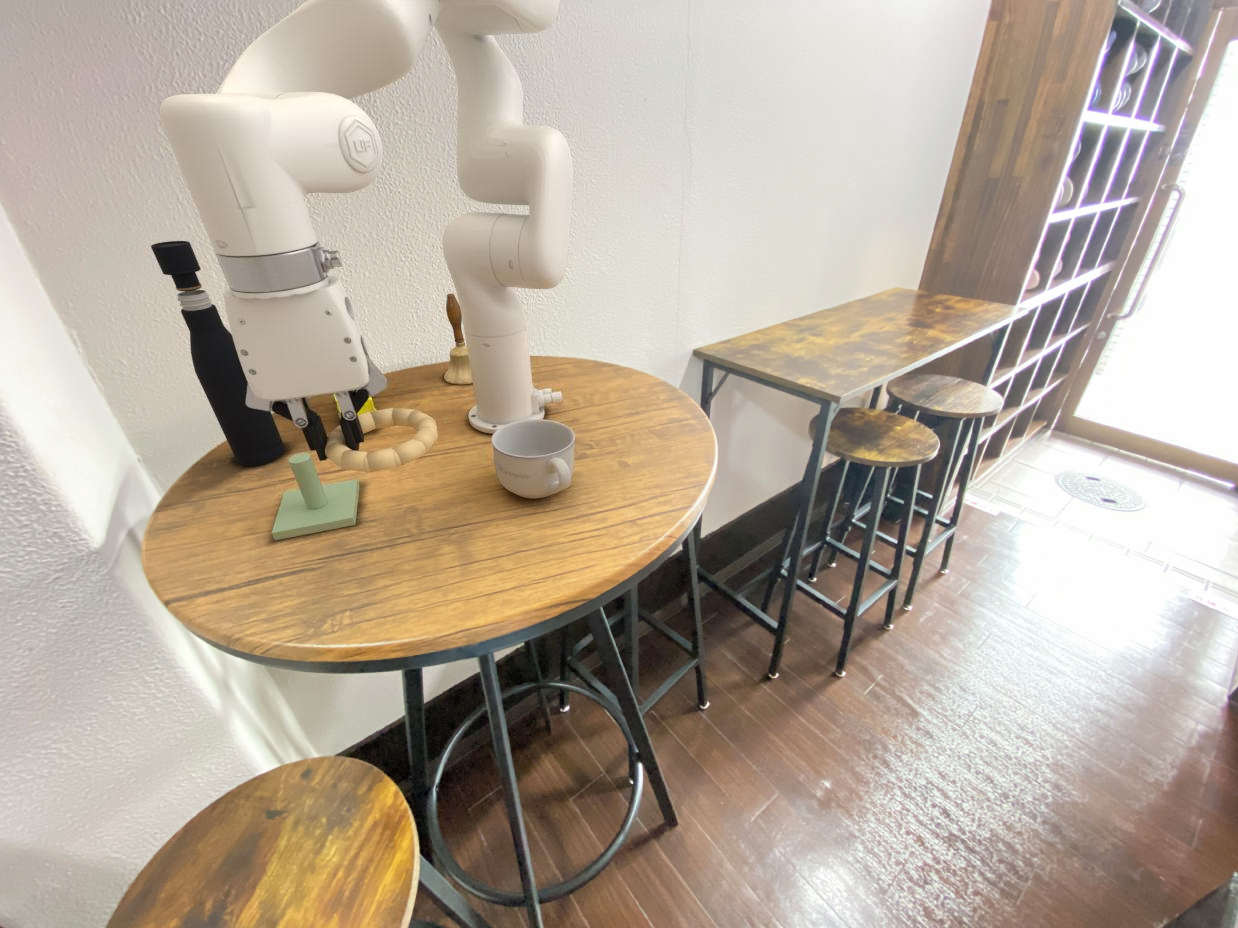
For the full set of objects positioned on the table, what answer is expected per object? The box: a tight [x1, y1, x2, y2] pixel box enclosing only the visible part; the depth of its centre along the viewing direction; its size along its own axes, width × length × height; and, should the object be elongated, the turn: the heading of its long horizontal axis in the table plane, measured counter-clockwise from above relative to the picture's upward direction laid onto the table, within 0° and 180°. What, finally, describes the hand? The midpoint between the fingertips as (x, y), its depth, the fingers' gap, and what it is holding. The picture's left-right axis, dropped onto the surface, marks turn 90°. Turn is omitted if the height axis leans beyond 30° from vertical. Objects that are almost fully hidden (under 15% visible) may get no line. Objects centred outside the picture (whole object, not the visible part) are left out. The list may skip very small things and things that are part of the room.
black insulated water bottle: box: [150, 240, 286, 467], centre depth 72 cm, size 6×6×30 cm
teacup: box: [490, 418, 576, 500], centre depth 70 cm, size 14×11×8 cm
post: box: [271, 452, 360, 541], centre depth 67 cm, size 9×9×8 cm
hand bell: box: [443, 293, 473, 386], centre depth 101 cm, size 8×8×16 cm
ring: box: [325, 407, 439, 473], centre depth 56 cm, size 11×11×2 cm
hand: (340, 450), depth 56 cm, fingers closed on ring, 2 cm apart
